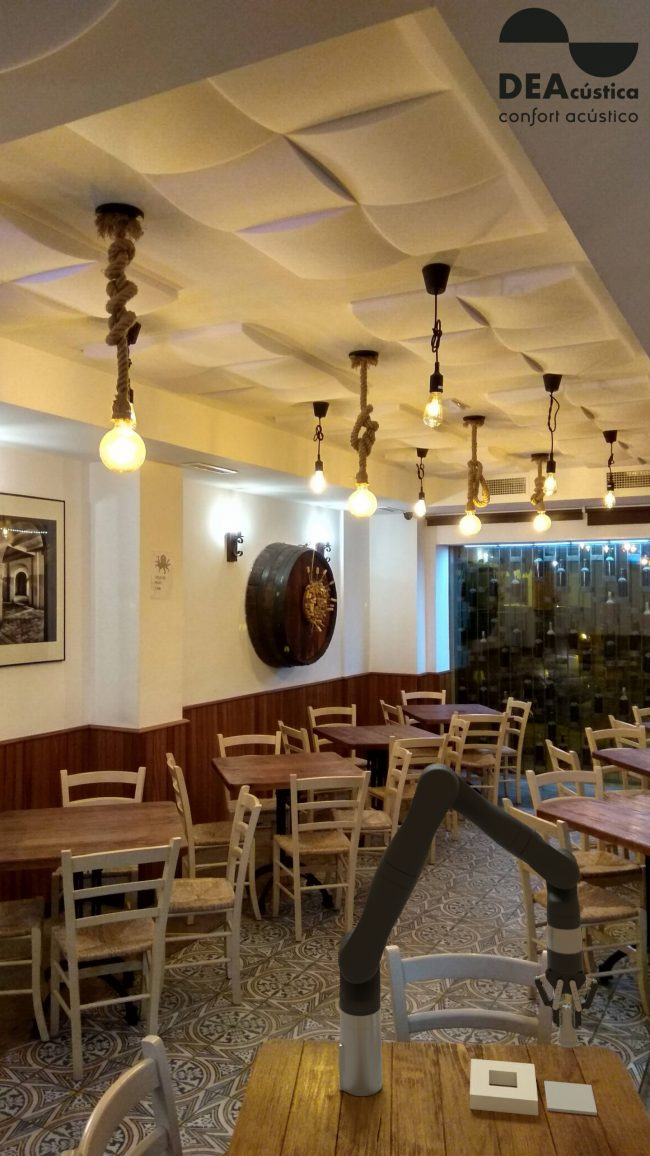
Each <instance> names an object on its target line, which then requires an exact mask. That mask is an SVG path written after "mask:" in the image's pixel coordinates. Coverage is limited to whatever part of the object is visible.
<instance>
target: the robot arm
mask: <svg viewBox="0 0 650 1156" xmlns="http://www.w3.org/2000/svg"><path fill="white" fill-rule="evenodd" d="M450 809H451V810H452V811H455V812H456V813H458V814H460V815H461V816H463V817H464V818H466V819H467V820H468V821H470V822H471V823H472V824H473V825H475V826H476V827H477V828H478V829H479V830H480V831H482V832H483V833H484V834H485V835H486V836H487V837H489V839H491V840H492V841H493V842H494V843H496V845H498V846H499V847H500V848H503V849H504V850H505V851H507V852H508V853H510V854H511V855H513V856H514V857H516V858H517V859H519V860H521V861H522V862H524V863H525V864H526V865H527V866H529V868H531V869H532V870H533V871H534V872H535V873H536V874H538V876H540V877H541V878H542V879H544V881H545V884H546V885H545V887H546V894H547V895H546V931H545V933H546V934H545V935H546V937H545V942H546V963H547V966H546V970H545V972H544V973H542V974H541V975H539V974H537V973H536V974H534V976H533V979H534V984H535V987H536V989H537V991H538V994H539V996H540V998H541V1000H542V1003H543V1005H544V1006H545V1007H550V1008H551V1014H552V1015H551V1016H552V1017H551V1019H552V1022H553V1024H555V1027H556V1028H560V1027H561V1020H560V1011H559V1007H560V1006H559V1005H560V1001H561V995H565V994H567V995H569V996H570V995H571V996H572V998H573V1002H574V1006H573V1009H574V1012H573V1026H574V1029H579V1028H580V1027H581V1026H582V1011H583V1010H589V1009H590V1008H591V1006H592V1004H593V1001H594V999H595V996H596V993H597V991H598V988H599V984H598V981H597V979H596V978H593V977H592V978H591V977H589V976H586V973H585V971H584V951H583V949H584V948H583V933H582V927H581V926H582V925H581V907H580V901H579V896H578V883H579V880H580V877H581V876H580V875H581V874H580V867H579V863H578V861H577V859H576V857H575V855H574V854H573V853H572V852H571V851H570V850H569V849H567V848H564V847H556V848H555V847H553V845H550V844H549V843H548V842H547V841H546V840H545V839H544V838H543V836H542V835H541V834H539V833H538V832H537V831H536V830H535V829H533V828H531V827H530V826H529V825H527V824H525V823H524V822H523V821H521V820H519V819H518V818H516V817H514V816H513V815H512V814H510V813H509V812H507V811H505V810H504V809H502V808H500V807H499V806H497V805H496V804H494V803H493V802H491V801H490V800H489V799H487V798H486V797H484V796H483V795H482V794H481V793H479V791H478V792H477V791H476V789H475V788H473V787H471V786H470V785H469V784H468V783H467V782H466V781H465V780H464V779H463V778H462V777H461V776H459V774H457V772H455V771H454V769H453V768H452V767H450V766H449V765H447V764H445V763H439V762H437V763H431V764H429V765H428V766H425V767H424V769H423V770H422V771H421V773H420V775H419V777H418V781H417V784H416V788H415V790H414V794H413V797H412V800H411V803H410V806H409V808H408V811H407V813H406V815H405V818H404V819H403V821H402V823H401V825H400V826H399V827H398V829H397V830H396V832H395V833H394V835H393V837H392V838H391V840H390V841H389V843H388V845H387V847H386V848H385V851H384V853H383V854H382V856H381V858H380V860H379V864H378V865H377V868H376V870H375V872H374V875H373V876H372V880H371V883H370V886H369V890H368V892H367V895H366V900H365V904H364V907H363V910H362V914H361V916H360V917H359V920H358V921H357V924H355V925H356V926H355V928H353V929H350V930H349V931H347V932H346V933H345V934H344V935H343V936H342V938H341V940H340V943H339V946H338V947H339V948H338V952H337V953H338V955H337V965H338V968H339V993H338V995H339V997H338V998H339V1031H340V1033H339V1034H340V1035H339V1037H340V1039H339V1040H340V1041H339V1043H338V1049H337V1051H338V1086H339V1087H338V1090H339V1089H340V1090H339V1091H344V1092H345V1093H348V1094H350V1095H352V1096H355V1097H368V1096H373V1095H375V1094H377V1093H378V1092H379V1091H381V1089H382V1088H383V1061H382V1060H383V1056H382V1055H383V1053H382V1051H383V1050H382V1049H383V1047H382V1011H381V1010H382V1009H381V1008H382V1007H381V1002H382V1001H381V996H382V995H381V993H382V992H381V991H382V990H381V989H382V988H381V960H382V957H383V954H384V950H385V948H386V946H387V942H388V940H389V938H390V935H391V933H392V930H393V928H394V927H395V925H396V923H397V921H398V919H399V918H400V916H401V914H402V912H403V911H404V909H405V907H406V906H407V903H408V901H409V899H410V897H411V895H412V893H413V892H414V889H415V888H416V885H417V884H418V881H419V879H420V876H421V874H422V871H423V869H424V866H425V865H426V861H427V859H428V855H429V852H430V849H431V847H432V843H433V840H434V837H435V835H436V833H437V831H438V829H439V828H440V825H441V824H442V823H443V821H444V819H445V817H446V816H447V814H448V812H449V811H450ZM546 981H547V982H548V983H549V984H550V986H551V987H552V989H553V990H552V996H551V997H549V995H548V992H547V991H546V988H545V986H546ZM584 984H585V986H586V989H587V990H586V991H585V994H584V997H583V999H581V1000H580V997H579V991H580V989H581V988H582V986H583V985H584Z"/></svg>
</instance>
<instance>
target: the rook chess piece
mask: <svg viewBox="0 0 650 1156" xmlns="http://www.w3.org/2000/svg"><path fill="white" fill-rule="evenodd" d="M559 1005H560V1006H558V1007H559V1013H560V1014H559V1018H560V1027H559V1029H558V1031H557V1035H556V1036H557V1037H556V1041H557V1043H558V1044H559V1045H560V1046H562V1047H564V1048H574V1047H576V1046H577V1045H578V1043H579V1040H578V1038H579V1037H578V1034H577V1032H576V1030H575V1026H574V1006H573V1004H571V1002H566V1001H565V1002H560V1004H559Z"/></svg>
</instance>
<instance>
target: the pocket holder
mask: <svg viewBox="0 0 650 1156" xmlns="http://www.w3.org/2000/svg"><path fill="white" fill-rule="evenodd" d="M469 1082H470V1083H469V1109H471V1110H479V1111H487V1112H488V1111H489V1112H498V1113H510V1114H521V1115H529V1116H539V1100H538V1089H537V1087H538V1086H537V1081H536V1069H535V1064H534V1063H524V1062H514V1061H502V1060H489V1059H481V1058H480V1059H479V1058H471V1059H470V1081H469ZM490 1084H491V1085H490ZM499 1085H500V1086H499Z"/></svg>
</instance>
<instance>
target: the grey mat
mask: <svg viewBox="0 0 650 1156" xmlns="http://www.w3.org/2000/svg"><path fill="white" fill-rule="evenodd" d="M543 1083H544V1092H545V1101H546V1110H547V1111H549V1112H557V1113H558V1112H559V1113H566V1114H567V1113H569V1114H570V1113H571V1114H578V1115H589V1116H598V1111H597V1106H596V1102H595V1097H594V1096H595V1095H594V1092H593V1087H592V1085H591V1084H585V1083H584V1084H583V1083H573V1082H572V1083H571V1082H564V1081H563V1082H561V1081H549V1080H544V1081H543Z"/></svg>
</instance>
